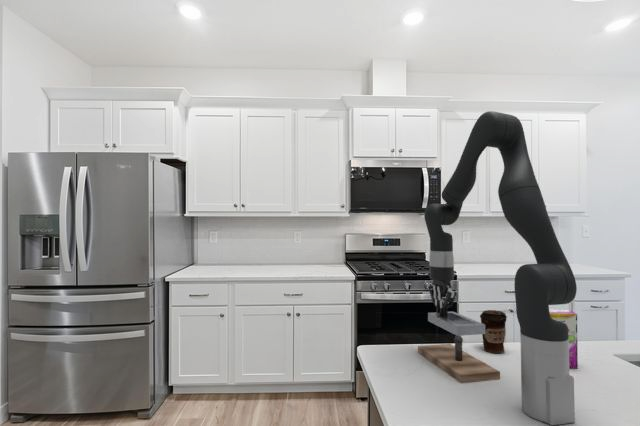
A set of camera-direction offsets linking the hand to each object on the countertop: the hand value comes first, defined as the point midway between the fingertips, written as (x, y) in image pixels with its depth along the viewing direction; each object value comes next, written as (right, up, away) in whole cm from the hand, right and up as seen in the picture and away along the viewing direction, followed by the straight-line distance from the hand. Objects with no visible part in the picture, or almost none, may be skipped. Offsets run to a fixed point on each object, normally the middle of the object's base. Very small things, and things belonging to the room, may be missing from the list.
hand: (441, 318), depth 116 cm
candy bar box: (+31, -12, -8) cm, 34 cm away
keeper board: (+1, -12, -7) cm, 14 cm away
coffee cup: (+19, -13, +5) cm, 23 cm away
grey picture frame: (+2, -1, -7) cm, 7 cm away
